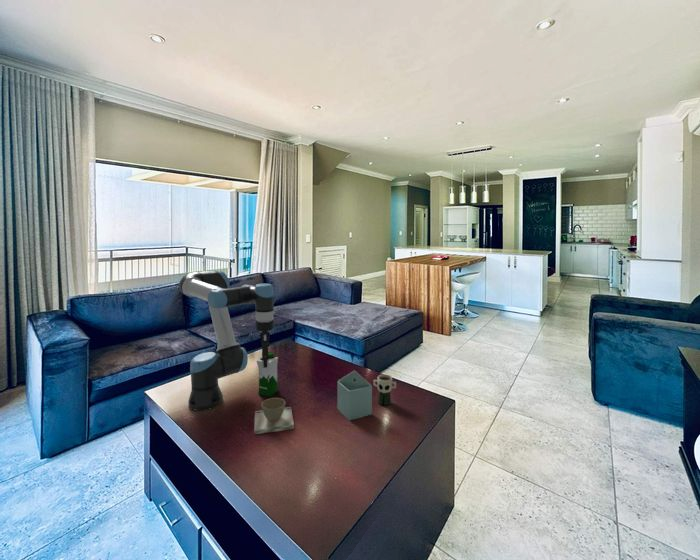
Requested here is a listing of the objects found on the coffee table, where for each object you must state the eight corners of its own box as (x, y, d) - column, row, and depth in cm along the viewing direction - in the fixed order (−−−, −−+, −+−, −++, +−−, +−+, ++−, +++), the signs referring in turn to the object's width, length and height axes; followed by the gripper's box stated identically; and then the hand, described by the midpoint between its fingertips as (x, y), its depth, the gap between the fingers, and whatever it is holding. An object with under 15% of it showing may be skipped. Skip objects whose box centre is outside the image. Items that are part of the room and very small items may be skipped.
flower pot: (280, 426, 138) (279, 410, 137) (257, 423, 140) (257, 407, 139) (289, 413, 147) (288, 398, 146) (268, 411, 149) (267, 396, 148)
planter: (331, 417, 147) (331, 374, 144) (337, 408, 155) (337, 367, 152) (367, 423, 142) (368, 379, 139) (371, 414, 150) (372, 372, 147)
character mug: (371, 405, 157) (372, 379, 156) (374, 398, 164) (374, 373, 162) (394, 408, 155) (395, 381, 153) (396, 400, 162) (397, 375, 160)
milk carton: (280, 390, 172) (279, 353, 169) (270, 398, 164) (269, 359, 161) (266, 387, 175) (265, 350, 173) (255, 394, 167) (254, 356, 164)
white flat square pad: (254, 434, 134) (254, 431, 134) (255, 413, 149) (255, 411, 149) (294, 428, 138) (294, 425, 138) (291, 409, 153) (291, 406, 153)
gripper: (274, 328, 130) (275, 379, 134) (272, 312, 154) (273, 355, 157) (254, 329, 128) (255, 380, 132) (256, 312, 152) (256, 356, 156)
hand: (265, 367), depth 145 cm, fingers open, 13 cm apart
